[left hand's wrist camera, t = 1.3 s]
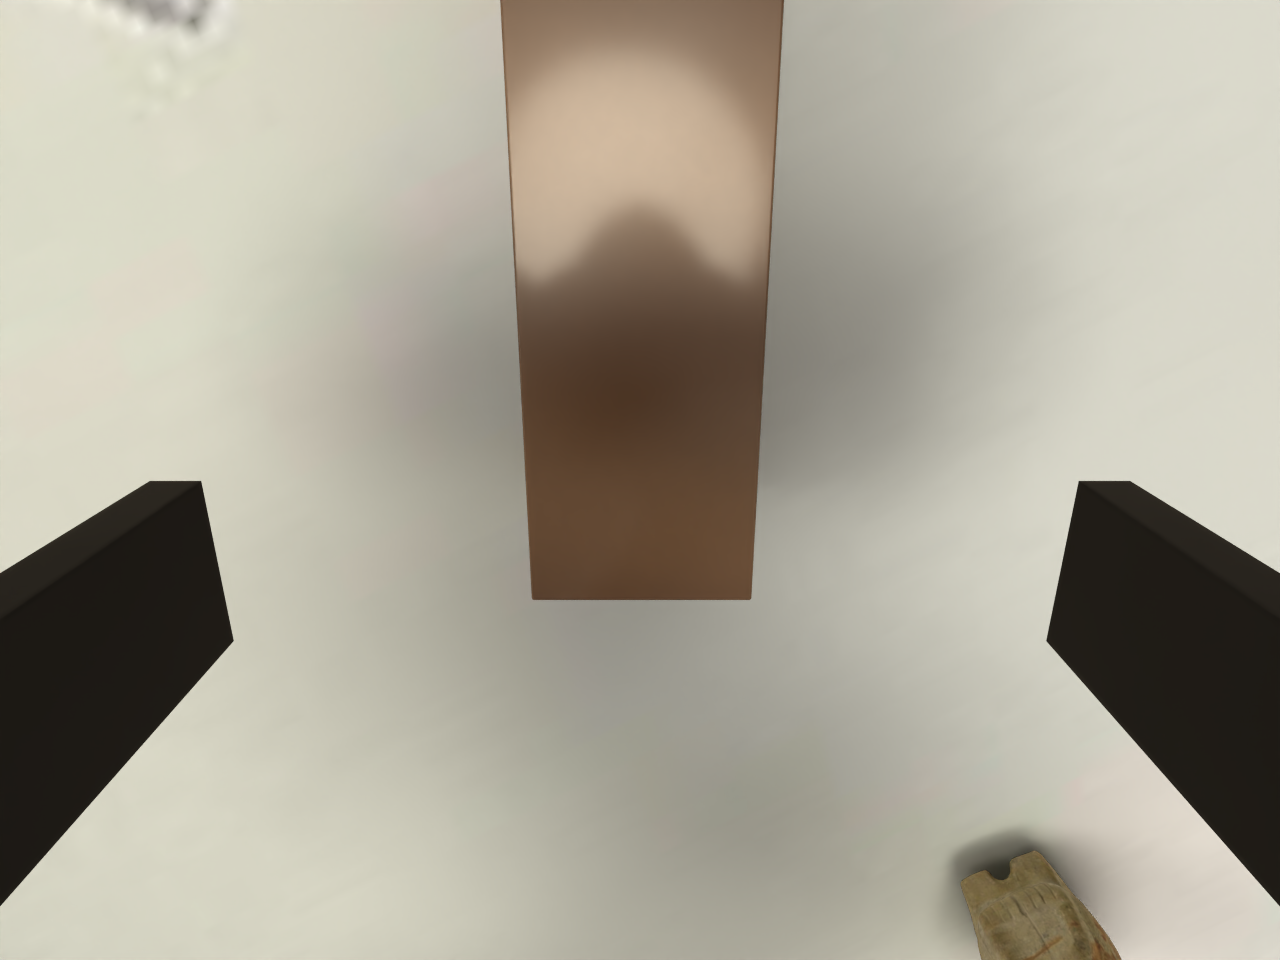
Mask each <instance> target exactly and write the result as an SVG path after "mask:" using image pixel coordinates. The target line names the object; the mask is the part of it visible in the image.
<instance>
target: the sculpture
mask: <svg viewBox="0 0 1280 960" xmlns="http://www.w3.org/2000/svg"><path fill="white" fill-rule="evenodd" d="M1009 866H1010V874H1009V876H1008V878H1007V879H1005V880H998V879H995V878H994V877H993V876H992V875H991V874H990V873H989V872H988V871H986V870H983V871H980V872H978V873H975V874H973V875H970V876H968V877H967V878H965V879H964V880H962V881H961V887H962V891H963V894H964V897H965V899H966V902H967V905H968V908H969V910H970V914H971V917H972V921H973V925H974V929H975V932H976V936H977V939H978V947H979V951H980V955H981V959H982V960H1121V958H1120V955H1119V953H1118V951H1117V950H1116V948H1115V946H1114V945H1113V943H1112V941H1111V940H1110V938H1109V937H1108V935H1107V934H1106V933H1105V931H1104V930H1103V929H1102V927H1101V926H1100V925H1099V923H1098V922H1097V921H1096V919H1095V918H1094V917H1093V916H1092V914H1091V913H1090V912H1089V911H1088V910H1087V908H1086V907H1085V906H1084V905H1083V903H1082V902H1081V901H1080V900H1078V899H1077V898H1076V897H1075V896H1074V894H1073V893H1072V892H1071V891H1070V890H1069V888H1068V887H1067V886H1066V884H1065V883H1064V882H1063V881H1062V879H1061V878H1060V877H1059V875H1058V874H1057V873H1056V872H1055V870H1054V869H1053V868H1052V867H1051V866H1050V864H1049V863H1048V862H1047V861H1046V860H1045V858H1044V857H1043V856H1042V855H1041V854H1040V853H1039V852H1037V851H1032V852H1029V853H1026V854H1023V855H1020V856H1017V857H1015V858H1013V859H1012V860H1011V861H1010V863H1009Z"/></svg>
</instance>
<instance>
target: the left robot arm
mask: <svg viewBox="0 0 1280 960" xmlns="http://www.w3.org/2000/svg"><path fill="white" fill-rule="evenodd" d="M233 641H234V640H233V635H232V630H231V626H230V621H229V616H228V611H227V606H226V601H225V596H224V591H223V586H222V581H221V576H220V571H219V567H218V562H217V557H216V552H215V547H214V542H213V537H212V532H211V527H210V522H209V517H208V513H207V508H206V503H205V498H204V493H203V488H202V483H201V481H149V482H148V483H146V484H144V485H143V486H141V487H140V488H138V489H136V490H135V491H133V492H131V493H130V494H128V495H127V496H125V497H123V498H122V499H120V500H118V501H117V502H115V503H114V504H112V505H110V506H109V507H107V508H105V509H104V510H102V511H101V512H99V513H97V514H96V515H94V516H92V517H91V518H89V519H88V520H86V521H84V522H83V523H81V524H79V525H78V526H76V527H75V528H73V529H71V530H70V531H68V532H66V533H65V534H63V535H62V536H60V537H58V538H57V539H55V540H53V541H52V542H50V543H49V544H47V545H45V546H44V547H42V548H40V549H39V550H37V551H36V552H34V553H32V554H31V555H29V556H27V557H26V558H24V559H23V560H21V561H19V562H18V563H16V564H14V565H13V566H11V567H10V568H8V569H6V570H5V571H3V572H1V573H0V906H1V905H2V904H3V902H4V901H5V900H6V899H7V898H8V897H9V896H10V894H11V893H12V892H13V891H14V890H15V889H16V888H17V887H18V885H19V884H20V883H21V882H22V881H23V880H24V879H25V877H26V876H27V875H28V874H29V873H30V872H31V871H32V869H33V868H34V867H35V866H36V865H37V864H38V863H39V862H40V860H41V859H42V858H43V857H44V856H45V855H46V854H47V852H48V851H49V850H50V849H51V848H52V847H53V846H54V844H55V843H56V842H57V841H58V840H59V839H60V838H61V837H62V835H63V834H64V833H65V832H66V831H67V830H68V829H69V827H70V826H71V825H72V824H73V823H74V822H75V821H76V819H77V818H78V817H79V816H80V815H81V814H82V813H83V812H84V810H85V809H86V808H87V807H88V806H89V805H90V804H91V802H92V801H93V800H94V799H95V798H96V797H97V796H98V794H99V793H100V792H101V791H102V790H103V789H104V788H105V787H106V785H107V784H108V783H109V782H110V781H111V780H112V779H113V777H114V776H115V775H116V774H117V773H118V772H119V771H120V769H121V768H122V767H123V766H124V765H125V764H126V763H127V762H128V760H129V759H130V758H131V757H132V756H133V755H134V754H135V752H136V751H137V750H138V749H139V748H140V747H141V746H142V745H143V743H144V742H145V741H146V740H147V739H148V738H149V737H150V735H151V734H152V733H153V732H154V731H155V730H156V729H157V727H158V726H159V725H160V724H161V723H162V722H163V721H164V720H165V718H166V717H167V716H168V715H169V714H170V713H171V712H172V710H173V709H174V708H175V707H176V706H177V705H178V704H179V702H180V701H181V700H182V699H183V698H184V697H185V696H186V695H187V693H188V692H189V691H190V690H191V689H192V688H193V687H194V685H195V684H196V683H197V682H198V681H199V680H200V679H201V677H202V676H203V675H204V674H205V673H206V672H207V671H208V670H209V668H210V667H211V666H212V665H213V664H214V663H215V662H216V660H217V659H218V658H219V657H220V656H221V655H222V654H223V652H224V651H225V650H226V649H227V648H228V647H229V646H230V645H231V643H232V642H233ZM1046 641H1047V642H1048V643H1049V645H1050V646H1051V647H1052V648H1053V649H1054V650H1055V651H1056V652H1057V654H1058V655H1059V656H1060V657H1061V658H1062V659H1063V660H1064V662H1065V663H1066V664H1067V665H1068V666H1069V667H1070V668H1071V670H1072V671H1073V672H1074V673H1075V674H1076V675H1077V676H1078V677H1079V679H1080V680H1081V681H1082V682H1083V683H1084V684H1085V685H1086V687H1087V688H1088V689H1089V690H1090V691H1091V692H1092V693H1093V695H1094V696H1095V697H1096V698H1097V699H1098V700H1099V701H1100V702H1101V704H1102V705H1103V706H1104V707H1105V708H1106V709H1107V710H1108V712H1109V713H1110V714H1111V715H1112V716H1113V717H1114V718H1115V720H1116V721H1117V722H1118V723H1119V724H1120V725H1121V726H1122V727H1123V729H1124V730H1125V731H1126V732H1127V733H1128V734H1129V735H1130V737H1131V738H1132V739H1133V740H1134V741H1135V742H1136V743H1137V745H1138V746H1139V747H1140V748H1141V749H1142V750H1143V751H1144V752H1145V754H1146V755H1147V756H1148V757H1149V758H1150V759H1151V760H1152V762H1153V763H1154V764H1155V765H1156V766H1157V767H1158V768H1159V769H1160V771H1161V772H1162V773H1163V774H1164V775H1165V776H1166V777H1167V779H1168V780H1169V781H1170V782H1171V783H1172V784H1173V785H1174V787H1175V788H1176V789H1177V790H1178V791H1179V792H1180V793H1181V794H1182V796H1183V797H1184V798H1185V799H1186V800H1187V801H1188V802H1189V804H1190V805H1191V806H1192V807H1193V808H1194V809H1195V810H1196V812H1197V813H1198V814H1199V815H1200V816H1201V817H1202V818H1203V819H1204V821H1205V822H1206V823H1207V824H1208V825H1209V826H1210V827H1211V829H1212V830H1213V831H1214V832H1215V833H1216V834H1217V835H1218V837H1219V838H1220V839H1221V840H1222V841H1223V842H1224V843H1225V844H1226V846H1227V847H1228V848H1229V849H1230V850H1231V851H1232V852H1233V854H1234V855H1235V856H1236V857H1237V858H1238V859H1239V860H1240V862H1241V863H1242V864H1243V865H1244V866H1245V867H1246V868H1247V869H1248V871H1249V872H1250V873H1251V874H1252V875H1253V876H1254V877H1255V879H1256V880H1257V881H1258V882H1259V883H1260V884H1261V885H1262V887H1263V888H1264V889H1265V890H1266V891H1267V892H1268V893H1269V894H1270V896H1271V897H1272V898H1273V899H1274V900H1275V901H1276V902H1277V904H1278V905H1279V906H1280V573H1279V572H1277V571H1275V570H1274V569H1272V568H1270V567H1269V566H1267V565H1266V564H1264V563H1262V562H1261V561H1259V560H1257V559H1256V558H1254V557H1253V556H1251V555H1249V554H1248V553H1246V552H1244V551H1243V550H1241V549H1240V548H1238V547H1236V546H1235V545H1233V544H1231V543H1230V542H1228V541H1227V540H1225V539H1223V538H1222V537H1220V536H1218V535H1217V534H1215V533H1214V532H1212V531H1210V530H1209V529H1207V528H1205V527H1204V526H1202V525H1201V524H1199V523H1197V522H1196V521H1194V520H1192V519H1191V518H1189V517H1188V516H1186V515H1184V514H1183V513H1181V512H1179V511H1178V510H1176V509H1175V508H1173V507H1171V506H1170V505H1168V504H1166V503H1165V502H1163V501H1162V500H1160V499H1158V498H1157V497H1155V496H1153V495H1152V494H1150V493H1149V492H1147V491H1145V490H1144V489H1142V488H1140V487H1139V486H1137V485H1136V484H1134V483H1132V482H1131V481H1079V483H1078V488H1077V493H1076V498H1075V503H1074V508H1073V513H1072V517H1071V522H1070V527H1069V532H1068V537H1067V542H1066V547H1065V552H1064V557H1063V562H1062V567H1061V571H1060V576H1059V581H1058V586H1057V591H1056V596H1055V601H1054V606H1053V611H1052V616H1051V621H1050V626H1049V630H1048V635H1047V640H1046Z"/></svg>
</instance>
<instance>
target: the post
mask: <svg viewBox="0 0 1280 960" xmlns="http://www.w3.org/2000/svg"><path fill="white" fill-rule="evenodd" d="M500 3H501V22H502V41H503V60H504V79H505V98H506V117H507V136H508V155H509V173H510V192H511V211H512V230H513V249H514V268H515V287H516V306H517V325H518V344H519V363H520V382H521V401H522V420H523V439H524V457H525V476H526V495H527V514H528V533H529V552H530V571H531V590H532V599H533V600H750V599H751V594H752V575H753V557H754V539H755V520H756V502H757V484H758V466H759V447H760V429H761V411H762V392H763V374H764V356H765V338H766V319H767V301H768V283H769V264H770V246H771V228H772V210H773V191H774V173H775V155H776V136H777V118H778V100H779V82H780V63H781V45H782V27H783V9H784V0H500Z"/></svg>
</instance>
